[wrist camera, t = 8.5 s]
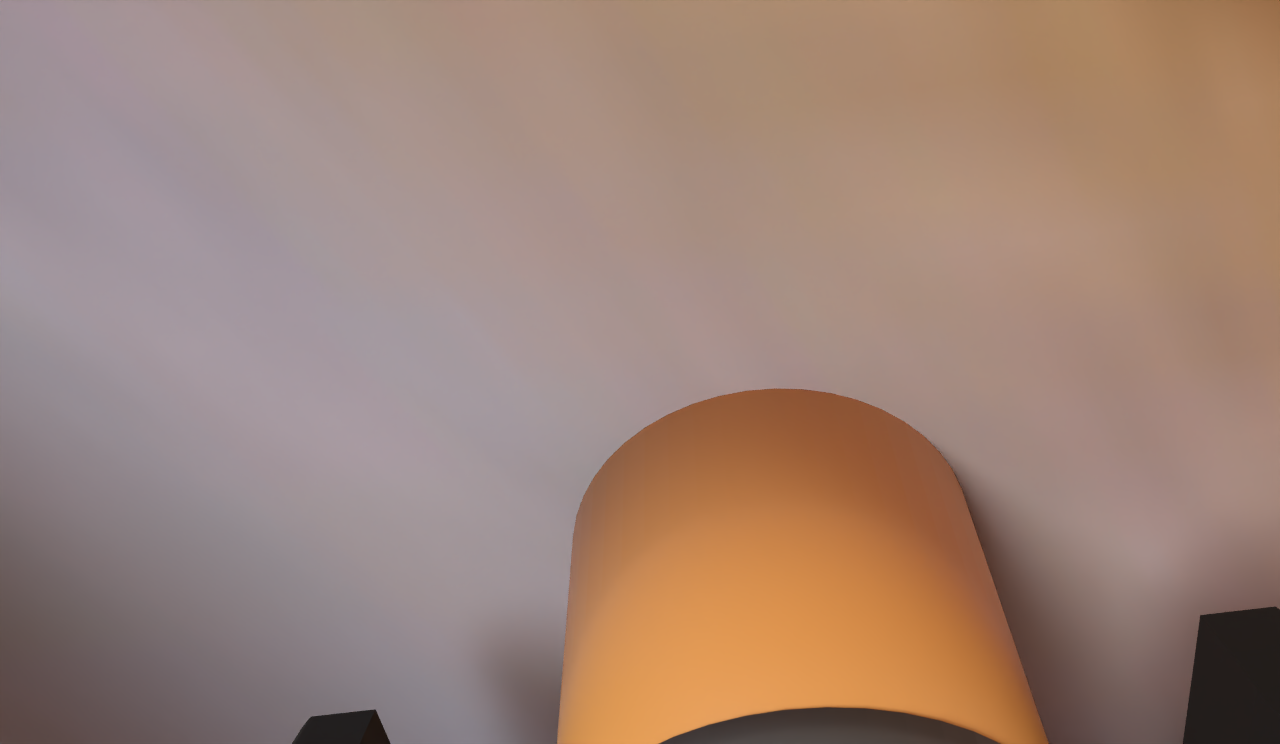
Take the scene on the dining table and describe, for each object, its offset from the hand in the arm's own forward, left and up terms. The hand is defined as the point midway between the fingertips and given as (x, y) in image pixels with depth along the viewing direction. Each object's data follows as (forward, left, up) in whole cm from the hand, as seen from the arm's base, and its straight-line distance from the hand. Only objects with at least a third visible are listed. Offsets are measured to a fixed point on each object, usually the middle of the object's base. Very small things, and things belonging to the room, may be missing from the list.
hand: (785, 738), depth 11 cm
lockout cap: (0, 0, -3) cm, 3 cm away
